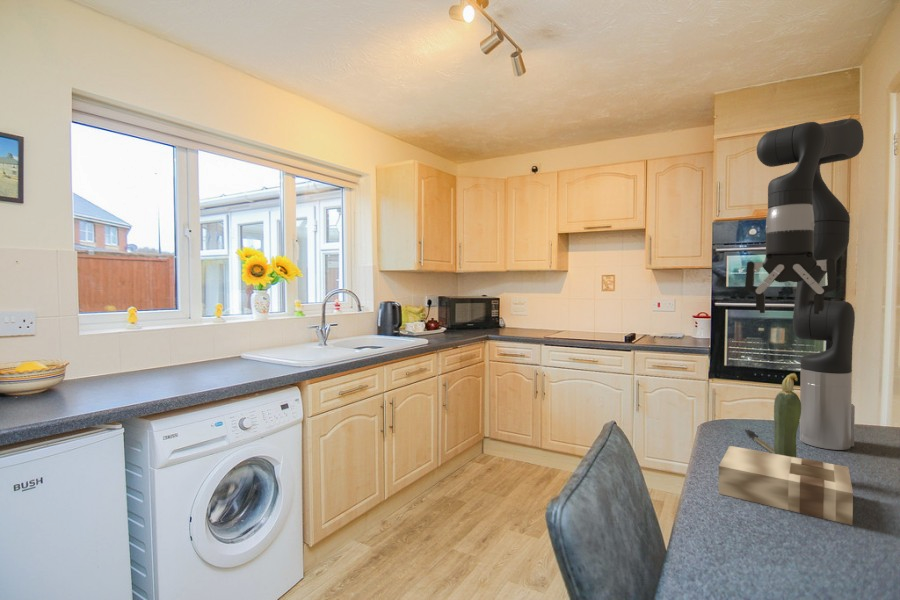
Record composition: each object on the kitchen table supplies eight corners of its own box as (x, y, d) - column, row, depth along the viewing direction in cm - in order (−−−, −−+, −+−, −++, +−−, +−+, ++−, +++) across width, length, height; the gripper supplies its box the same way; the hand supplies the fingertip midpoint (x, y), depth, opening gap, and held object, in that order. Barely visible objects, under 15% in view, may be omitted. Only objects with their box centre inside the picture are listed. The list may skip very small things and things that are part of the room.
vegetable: (767, 468, 93) (768, 370, 92) (787, 467, 93) (788, 369, 93) (785, 477, 89) (786, 374, 88) (806, 476, 89) (807, 373, 88)
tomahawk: (814, 471, 94) (815, 466, 94) (777, 466, 95) (778, 461, 95) (770, 437, 114) (770, 432, 114) (740, 432, 116) (740, 428, 116)
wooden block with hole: (718, 493, 82) (718, 465, 82) (729, 470, 92) (729, 445, 92) (852, 525, 71) (852, 492, 71) (847, 494, 81) (848, 466, 81)
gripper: (836, 228, 88) (835, 313, 89) (748, 234, 97) (747, 311, 97) (837, 225, 82) (836, 315, 83) (743, 231, 91) (743, 313, 92)
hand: (788, 313), depth 90 cm, fingers open, 8 cm apart
